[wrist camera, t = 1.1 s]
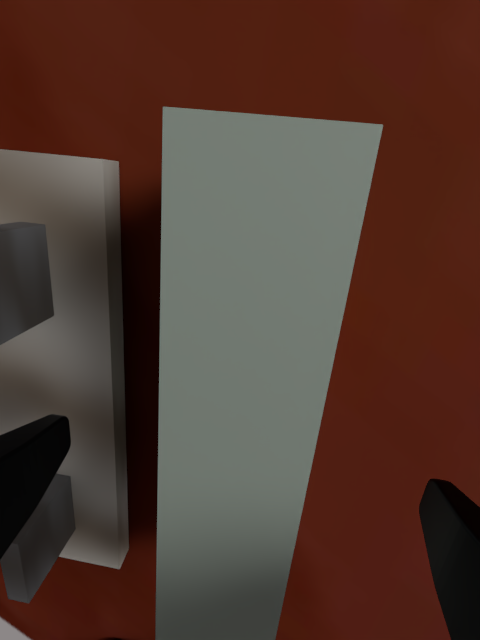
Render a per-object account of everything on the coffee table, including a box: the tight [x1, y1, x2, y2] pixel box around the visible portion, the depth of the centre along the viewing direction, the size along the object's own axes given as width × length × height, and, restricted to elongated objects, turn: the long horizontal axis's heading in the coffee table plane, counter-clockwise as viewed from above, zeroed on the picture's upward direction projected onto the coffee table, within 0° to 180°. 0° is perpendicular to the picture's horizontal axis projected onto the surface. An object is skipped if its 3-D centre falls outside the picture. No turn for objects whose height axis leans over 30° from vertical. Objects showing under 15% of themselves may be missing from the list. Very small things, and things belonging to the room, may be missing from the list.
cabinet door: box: [155, 107, 383, 640], centre depth 10 cm, size 14×2×7 cm, turn 175°
